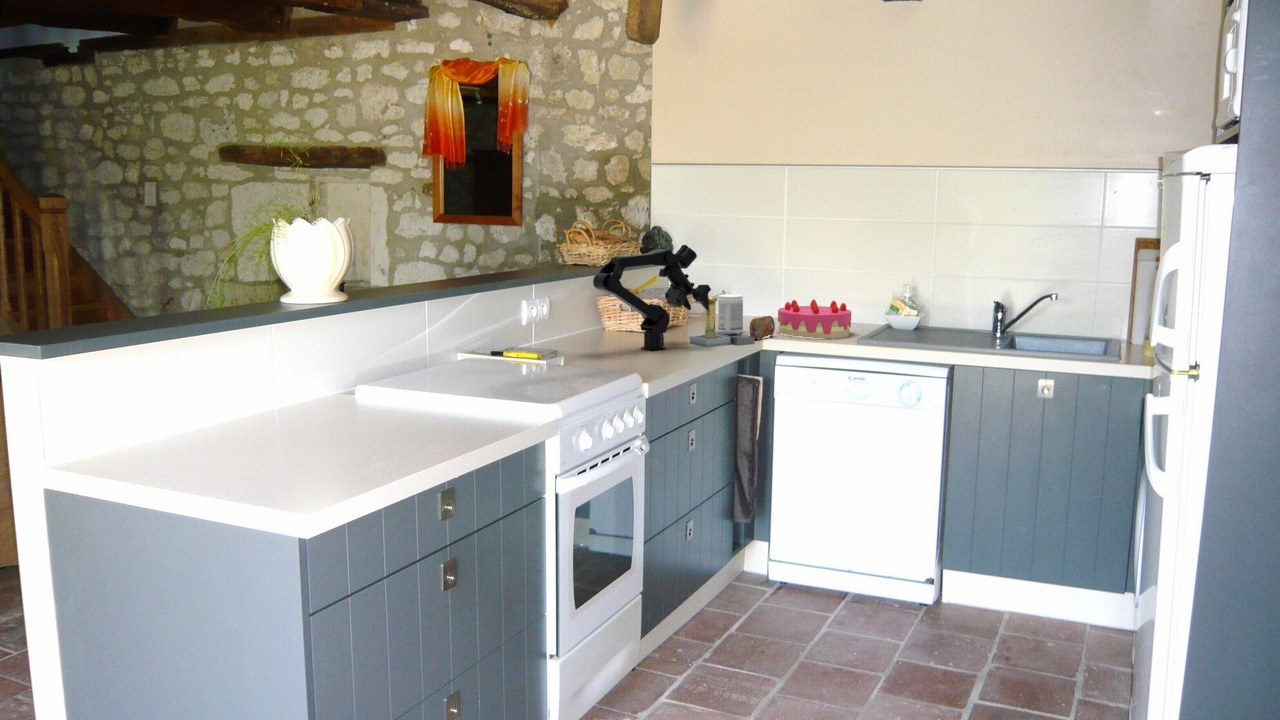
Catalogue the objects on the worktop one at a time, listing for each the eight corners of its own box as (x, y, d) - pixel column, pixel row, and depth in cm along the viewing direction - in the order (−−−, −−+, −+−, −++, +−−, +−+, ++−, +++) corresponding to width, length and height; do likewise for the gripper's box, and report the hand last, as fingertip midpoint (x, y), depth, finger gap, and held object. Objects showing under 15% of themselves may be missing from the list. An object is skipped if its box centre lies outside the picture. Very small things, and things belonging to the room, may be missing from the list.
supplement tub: (743, 331, 396) (744, 294, 393) (741, 334, 386) (742, 296, 384) (719, 330, 397) (719, 293, 395) (716, 334, 388) (717, 296, 386)
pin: (709, 342, 361) (711, 298, 358) (700, 341, 364) (701, 297, 362) (719, 341, 364) (720, 297, 361) (709, 340, 367) (710, 296, 365)
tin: (754, 341, 370) (755, 318, 369) (747, 340, 372) (748, 318, 371) (775, 336, 382) (775, 314, 381) (768, 336, 384) (768, 314, 383)
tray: (706, 346, 357) (706, 339, 357) (689, 342, 366) (689, 336, 366) (730, 344, 363) (730, 337, 362) (713, 340, 371) (713, 333, 371)
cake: (811, 327, 409) (812, 296, 407) (865, 335, 387) (867, 303, 385) (762, 333, 392) (763, 301, 390) (815, 342, 370) (817, 308, 368)
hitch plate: (736, 345, 361) (737, 338, 360) (710, 339, 374) (710, 332, 374) (754, 343, 365) (754, 336, 365) (728, 337, 378) (728, 331, 378)
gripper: (647, 293, 357) (669, 324, 364) (683, 293, 343) (705, 325, 350) (663, 272, 361) (685, 303, 369) (700, 271, 347) (722, 303, 355)
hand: (699, 309), depth 361 cm, fingers open, 9 cm apart
